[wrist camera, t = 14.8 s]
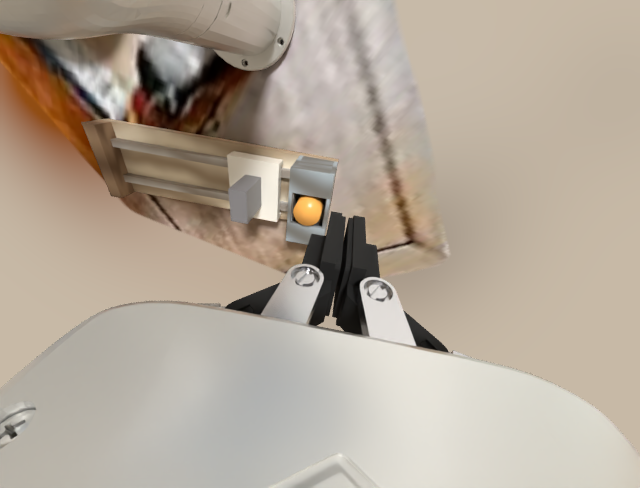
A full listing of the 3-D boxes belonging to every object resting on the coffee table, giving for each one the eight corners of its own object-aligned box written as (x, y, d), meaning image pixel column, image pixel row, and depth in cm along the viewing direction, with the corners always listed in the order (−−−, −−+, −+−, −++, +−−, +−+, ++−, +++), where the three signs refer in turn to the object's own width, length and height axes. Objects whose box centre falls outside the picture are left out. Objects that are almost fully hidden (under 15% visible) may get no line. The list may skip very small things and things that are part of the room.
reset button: (301, 185, 38) (294, 198, 34) (326, 190, 37) (322, 203, 33) (299, 208, 40) (292, 223, 36) (322, 212, 40) (318, 227, 36)
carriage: (233, 151, 38) (205, 166, 31) (283, 159, 37) (266, 177, 31) (238, 207, 43) (215, 231, 37) (280, 215, 43) (265, 241, 36)
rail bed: (107, 118, 40) (57, 126, 33) (338, 159, 38) (334, 175, 32) (130, 186, 46) (93, 204, 40) (327, 223, 45) (322, 247, 39)
